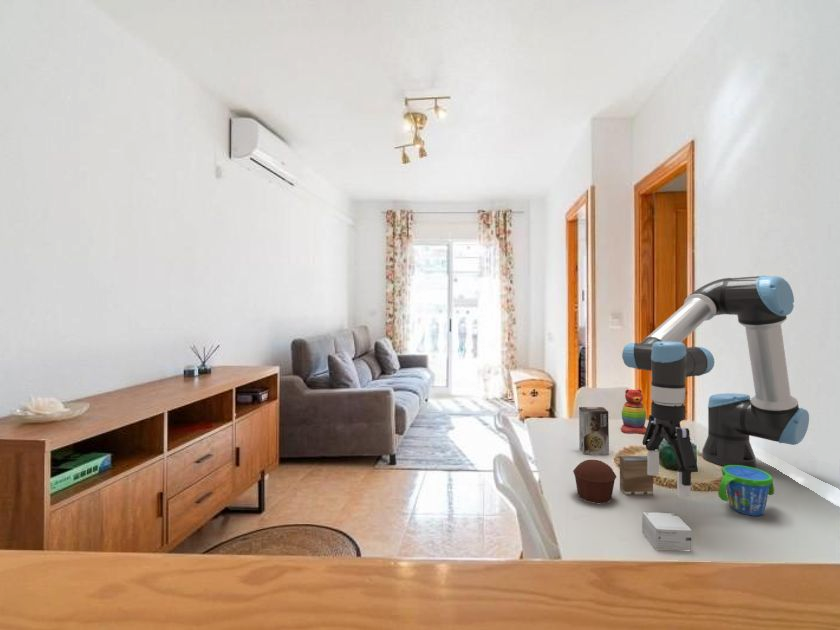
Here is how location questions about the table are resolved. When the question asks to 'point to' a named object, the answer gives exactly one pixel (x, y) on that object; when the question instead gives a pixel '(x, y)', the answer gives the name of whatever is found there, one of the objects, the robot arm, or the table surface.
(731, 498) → the snack cup
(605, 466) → the muffin
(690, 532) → the small box
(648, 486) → the brown thick block
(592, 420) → the coffee box
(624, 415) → the stacking bear
